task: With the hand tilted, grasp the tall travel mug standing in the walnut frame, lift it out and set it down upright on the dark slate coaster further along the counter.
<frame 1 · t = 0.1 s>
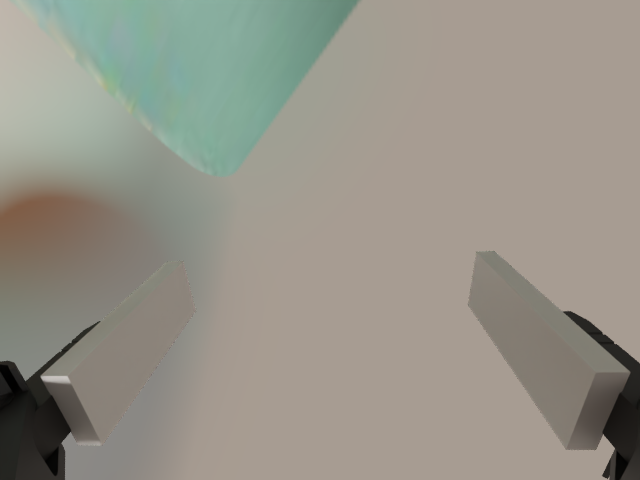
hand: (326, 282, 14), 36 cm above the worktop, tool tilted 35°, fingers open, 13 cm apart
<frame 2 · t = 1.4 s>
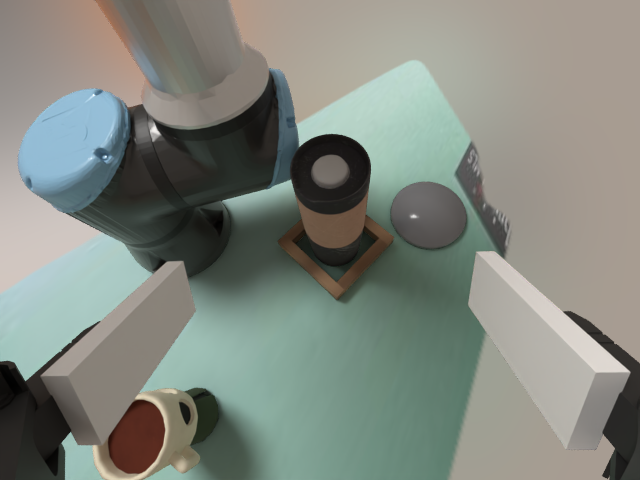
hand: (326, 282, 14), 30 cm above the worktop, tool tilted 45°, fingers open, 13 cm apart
travel mug: (335, 244, 47), resting in walnut frame
slate coaster: (426, 215, 47), on the worktop
walnut frame: (335, 244, 46), on the worktop
character mug: (197, 414, 39), on the worktop
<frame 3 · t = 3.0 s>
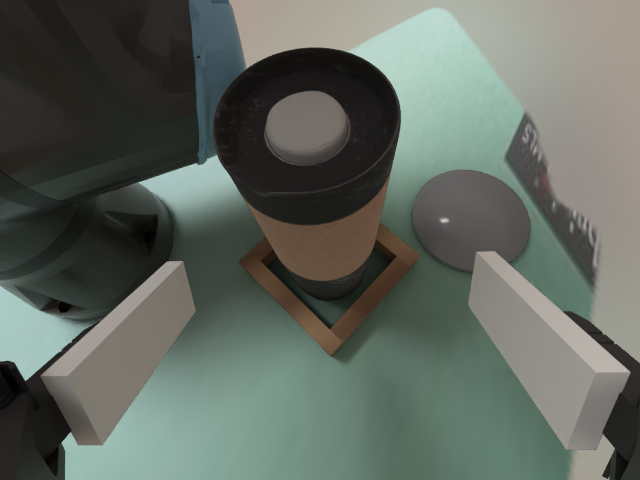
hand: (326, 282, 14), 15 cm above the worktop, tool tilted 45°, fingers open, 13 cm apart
travel mug: (329, 265, 31), resting in walnut frame
slate coaster: (467, 220, 31), on the worktop
walnut frame: (328, 265, 30), on the worktop
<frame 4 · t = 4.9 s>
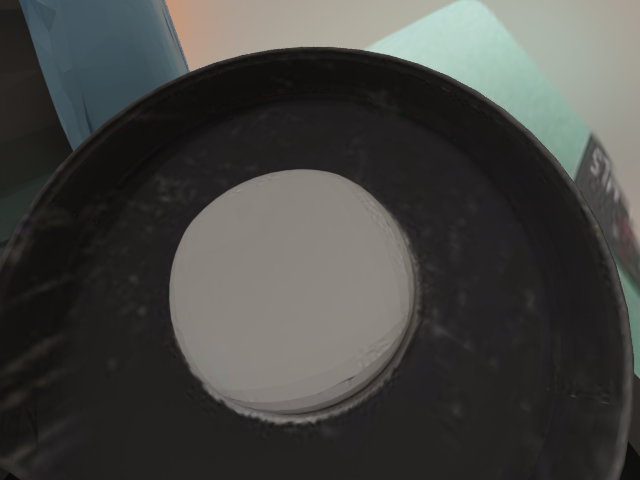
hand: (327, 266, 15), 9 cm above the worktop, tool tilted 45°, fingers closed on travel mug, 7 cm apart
travel mug: (334, 347, 22), resting in walnut frame, touching gripper
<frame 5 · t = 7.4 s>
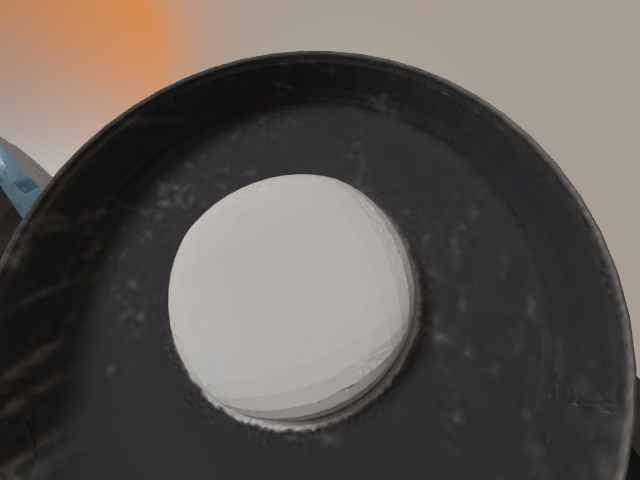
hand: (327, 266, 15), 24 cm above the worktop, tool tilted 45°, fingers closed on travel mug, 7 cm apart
travel mug: (334, 348, 22), point 15 cm above the worktop, touching gripper
when the fingers open (10 cm above the worktop, at t = 10.3 s): travel mug stays where it is, resting on slate coaster.
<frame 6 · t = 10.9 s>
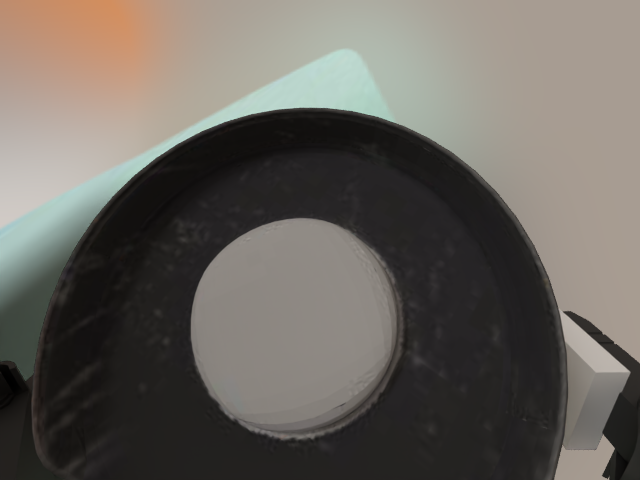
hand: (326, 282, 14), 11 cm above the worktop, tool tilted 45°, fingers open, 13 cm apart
travel mug: (334, 349, 23), point 1 cm above the worktop, touching slate coaster
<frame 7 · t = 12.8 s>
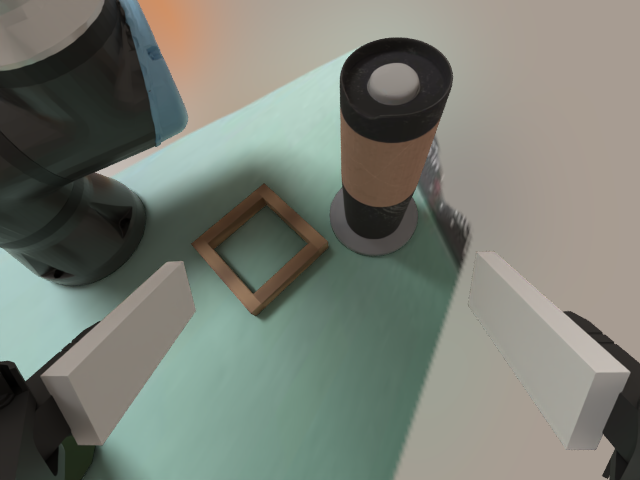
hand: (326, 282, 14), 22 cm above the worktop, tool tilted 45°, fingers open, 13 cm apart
travel mug: (373, 214, 39), point 1 cm above the worktop, touching slate coaster
slate coaster: (372, 216, 40), on the worktop
walnut frame: (262, 248, 39), on the worktop
character mug: (71, 454, 32), on the worktop
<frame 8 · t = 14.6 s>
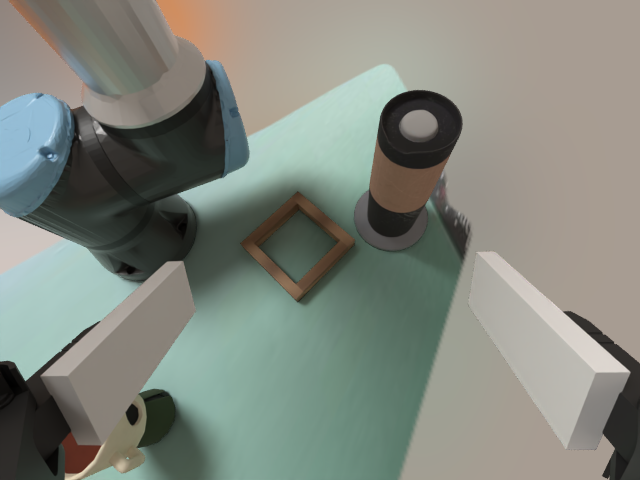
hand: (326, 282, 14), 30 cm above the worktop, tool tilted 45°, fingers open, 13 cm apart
travel mug: (390, 216, 47), point 1 cm above the worktop, touching slate coaster
slate coaster: (389, 217, 47), on the worktop
walnut frame: (298, 246, 47), on the worktop
character mug: (154, 415, 40), on the worktop
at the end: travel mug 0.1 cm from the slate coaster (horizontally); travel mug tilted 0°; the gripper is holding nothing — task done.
